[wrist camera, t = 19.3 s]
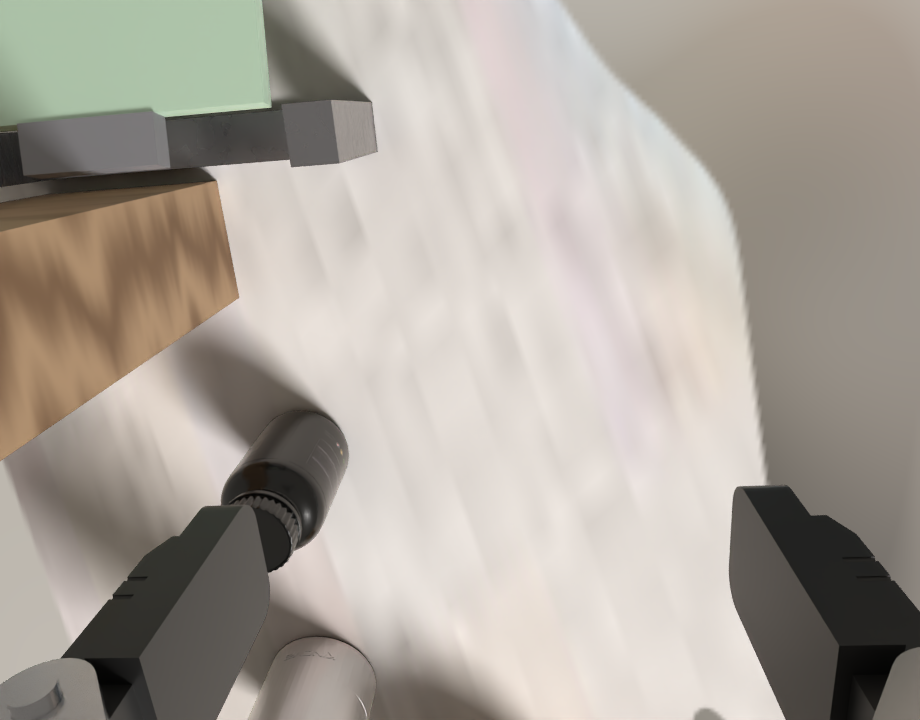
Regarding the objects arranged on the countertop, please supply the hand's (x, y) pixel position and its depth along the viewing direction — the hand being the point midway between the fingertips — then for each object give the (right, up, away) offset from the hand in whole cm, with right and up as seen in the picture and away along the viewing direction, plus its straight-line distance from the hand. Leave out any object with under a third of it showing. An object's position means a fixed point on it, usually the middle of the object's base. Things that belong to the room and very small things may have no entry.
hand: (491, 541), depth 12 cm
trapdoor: (-19, +20, +23) cm, 36 cm away
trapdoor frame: (-18, +17, +34) cm, 42 cm away
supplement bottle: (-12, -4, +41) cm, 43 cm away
